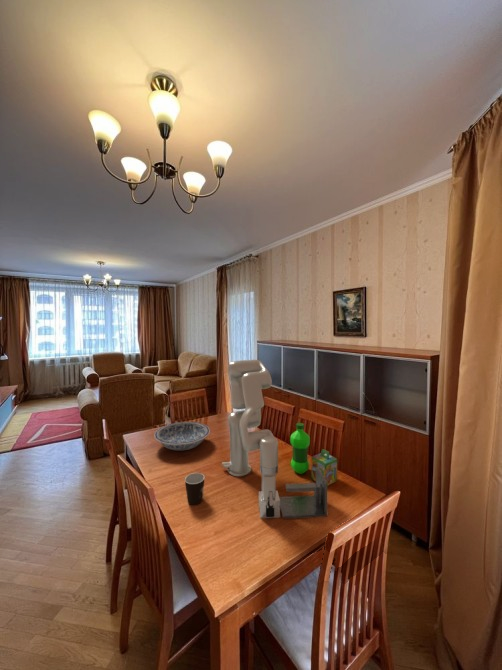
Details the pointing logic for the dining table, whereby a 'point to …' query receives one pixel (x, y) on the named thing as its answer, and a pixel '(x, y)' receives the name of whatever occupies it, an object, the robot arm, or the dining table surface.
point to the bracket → (306, 499)
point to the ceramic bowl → (182, 435)
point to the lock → (264, 504)
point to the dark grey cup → (194, 488)
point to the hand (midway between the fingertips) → (269, 509)
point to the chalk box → (325, 466)
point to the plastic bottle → (300, 449)
